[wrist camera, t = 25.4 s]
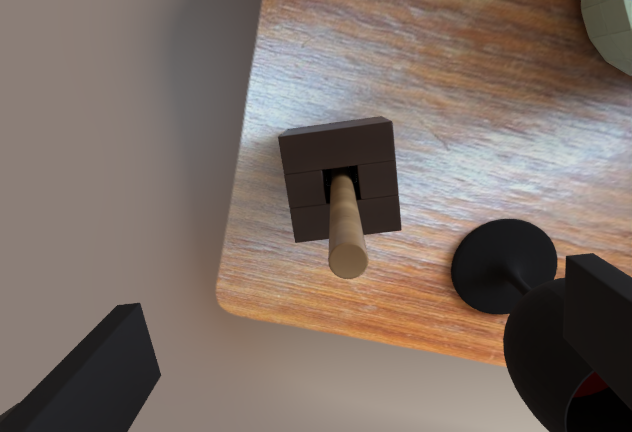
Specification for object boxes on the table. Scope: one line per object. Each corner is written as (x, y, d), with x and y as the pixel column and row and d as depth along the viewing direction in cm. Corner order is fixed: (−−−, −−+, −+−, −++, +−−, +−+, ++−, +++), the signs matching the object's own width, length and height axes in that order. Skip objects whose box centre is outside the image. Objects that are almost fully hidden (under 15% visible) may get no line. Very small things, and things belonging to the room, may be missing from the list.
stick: (330, 163, 39) (325, 245, 18) (348, 161, 39) (366, 240, 18) (332, 182, 40) (330, 281, 19) (351, 179, 40) (370, 277, 19)
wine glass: (518, 196, 40) (691, 292, 20) (576, 273, 42) (783, 427, 22) (429, 261, 42) (510, 402, 23) (488, 331, 44) (608, 516, 25)
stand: (287, 129, 39) (278, 136, 32) (382, 116, 38) (392, 120, 31) (301, 218, 41) (295, 243, 34) (390, 207, 40) (401, 230, 34)
